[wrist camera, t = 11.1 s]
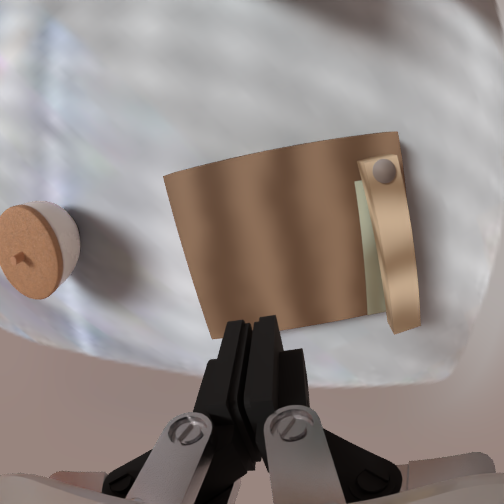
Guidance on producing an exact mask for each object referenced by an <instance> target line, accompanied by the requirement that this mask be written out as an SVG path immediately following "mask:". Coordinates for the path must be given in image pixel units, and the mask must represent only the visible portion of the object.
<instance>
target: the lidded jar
mask: <svg viewBox="0 0 504 504" xmlns="http://www.w3.org/2000/svg"><path fill="white" fill-rule="evenodd" d="M79 253H80V237H79V230H78V227H77V225H76V223H75V221H74V220H73V218H72V217H71V216H70V215H69V213H68V212H67V211H66V210H64V209H63V208H62V207H60V206H59V205H57V204H55V203H51V202H47V201H33V202H28V203H24V204H21V205H17V206H13V207H10V208H9V209H7V210H6V211H4V212H3V214H2V215H1V216H0V266H1V268H2V270H3V272H4V274H5V276H6V277H7V279H8V280H9V282H10V283H11V284H12V285H13V286H14V287H15V288H16V289H17V290H18V291H19V292H20V293H22V294H23V295H25V296H27V297H29V298H33V299H45V298H47V297H49V296H50V295H51V294H52V293H53V292H55V291H56V289H57V288H58V287H59V286H60V285H61V284H62V283H64V282H65V281H66V279H67V278H68V277H69V276H70V274H71V273H72V272H73V270H74V268H75V266H76V264H77V261H78V258H79Z"/></svg>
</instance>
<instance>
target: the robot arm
mask: <svg viewBox="0 0 504 504" xmlns="http://www.w3.org/2000/svg"><path fill="white" fill-rule="evenodd" d="M261 458H263V461H264V463H265V466H266V468H267V471H268V472H269V474H270V480H271V488H272V495H273V503H274V504H504V473H496V471H495V465H494V463H493V460H492V459H491V458H490V457H489V456H488V455H486V454H483V453H481V452H472V453H467V454H461V455H455V456H449V457H442V458H435V459H427V460H418V461H409V464H405V465H395V464H393V463H392V462H390V461H388V460H386V459H384V458H381V457H379V456H377V455H375V454H373V453H371V452H369V451H367V450H364V449H362V448H360V447H358V446H356V445H354V444H352V443H350V442H348V441H346V440H344V439H342V438H341V437H338V436H337V435H335V434H333V433H331V432H329V431H327V430H325V429H323V428H322V425H321V421H320V418H319V417H318V415H317V413H316V412H315V411H314V410H312V409H311V408H310V405H309V392H308V381H307V373H306V367H305V360H304V354H303V349H302V348H301V349H294V350H288V351H284V350H283V345H282V340H281V336H280V331H279V326H278V322H277V317H276V315H270V316H264V317H260V318H259V321H258V322H254V325H253V330H252V327H251V324H250V323H245V321H244V320H236V321H228V322H227V324H226V328H225V332H224V335H223V339H222V343H221V347H220V350H219V354H218V358H217V359H211V360H209V361H208V363H207V367H206V370H205V373H204V376H203V380H202V383H201V386H200V390H199V393H198V396H197V400H196V403H195V407H194V410H193V412H189V413H184V414H181V415H179V416H177V417H175V418H173V419H172V420H171V421H169V423H168V424H167V425H166V427H165V428H164V430H163V432H162V433H161V435H160V437H159V439H158V441H157V442H156V444H155V446H154V448H153V449H152V450H150V451H148V452H146V453H145V454H143V455H141V456H139V457H137V458H136V459H134V460H132V461H130V462H128V463H126V464H125V465H123V466H121V467H119V468H117V469H116V470H114V471H112V472H111V473H109V475H107V474H106V472H70V471H59V472H56V473H54V474H52V475H51V476H50V477H49V478H47V477H43V476H38V475H34V474H24V473H12V474H4V475H0V504H235V501H236V498H237V495H238V491H239V488H240V484H241V479H240V478H241V477H242V476H244V475H245V474H246V473H247V471H253V470H255V464H256V462H258V461H259V462H260V461H261Z"/></svg>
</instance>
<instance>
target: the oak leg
mask: <svg viewBox="0 0 504 504" xmlns="http://www.w3.org/2000/svg"><path fill="white" fill-rule="evenodd" d="M357 164H358V168H359V171H360V175H361V179H362V183H363V187H364V192H365V196H366V200H367V204H368V209H369V214H370V218H371V223H372V228H373V233H374V238H375V243H376V248H377V254H378V260H379V265H380V271H381V278H382V284H383V291H384V298H385V305H386V313H387V322H388V323H389V325H390V327H391V329H392V331H393V333H394V334H397V333H401V332H404V331H407V330H409V329H412V328H415V327H418V326H421V322H420V303H419V289H418V278H417V268H416V259H415V251H414V243H413V236H412V229H411V222H410V216H409V210H408V205H407V199H406V194H405V189H404V184H403V179H402V175H401V170H400V166H399V161H398V157H397V155H393V154H383V155H379V156H375V157H370V158H367V159H363V160H359V161H357Z"/></svg>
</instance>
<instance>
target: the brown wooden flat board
mask: <svg viewBox="0 0 504 504" xmlns="http://www.w3.org/2000/svg"><path fill="white" fill-rule="evenodd" d="M383 154H393V155H397V157H398V161H399V166H400V170H401V175H402V179H403V184H404V189H405V194H406V187H405V178H404V170H403V162H402V155H401V148H400V142H399V136H398V132H382V133H373V134H365V135H357V136H350V137H343V138H336V139H329V140H323V141H317V142H311V143H305V144H299V145H294V146H288V147H283V148H278V149H273V150H267V151H263V152H258V153H253V154H248V155H244V156H239V157H235V158H230V159H226V160H222V161H217V162H213V163H209V164H205V165H201V166H197V167H193V168H189V169H185V170H182V171H178V172H174V173H171V174H168V175H166V176H163V178H164V182H165V186H166V190H167V194H168V197H169V201H170V205H171V208H172V212H173V216H174V219H175V223H176V226H177V230H178V233H179V237H180V240H181V244H182V247H183V251H184V254H185V257H186V261H187V264H188V267H189V270H190V274H191V277H192V280H193V283H194V286H195V290H196V293H197V296H198V299H199V302H200V305H201V308H202V311H203V314H204V317H205V320H206V323H207V326H208V329H209V332H210V335H211V338H212V339H219V338H223V335H224V332H225V328H226V324H227V322H228V321H236V320H244V321H245V323H250V324H251V327H252V330H253V325H254V322H258V321H259V318H260V317H264V316H270V315H276V317H277V322H278V326H279V331H280V330H286V329H293V328H299V327H305V326H311V325H317V324H322V323H328V322H333V321H339V320H344V319H349V318H354V317H359V316H364V315H371V314H376V313H381V312H385V311H386V305H385V298H384V291H383V284H382V278H381V271H380V265H379V260H378V254H377V248H376V243H375V238H374V233H373V228H372V223H371V218H370V214H369V209H368V204H367V200H366V196H365V192H364V187H363V183H362V179H361V175H360V171H359V168H358V164H357V161H359V160H363V159H367V158H370V157H375V156H379V155H383ZM406 199H407V196H406Z"/></svg>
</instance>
